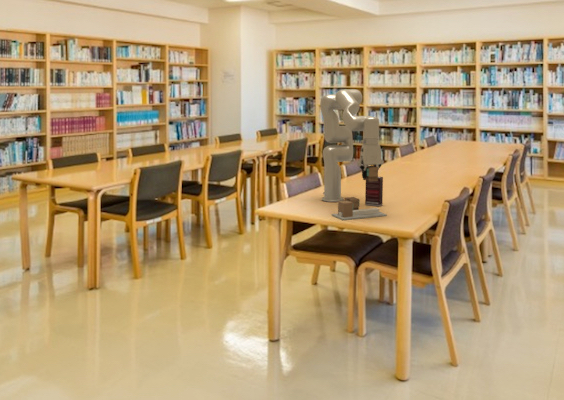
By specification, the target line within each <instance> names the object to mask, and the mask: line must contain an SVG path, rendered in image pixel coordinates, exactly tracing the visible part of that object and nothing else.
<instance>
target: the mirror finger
mask: <svg viewBox="0 0 564 400" xmlns="http://www.w3.org/2000/svg"><path fill="white" fill-rule="evenodd" d="M344 201H350V202H352V203H353V210H360V202H361V201H360V198H359V197H358V198H357V197H354V196H351V197H350V196H349V197H344Z"/></svg>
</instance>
